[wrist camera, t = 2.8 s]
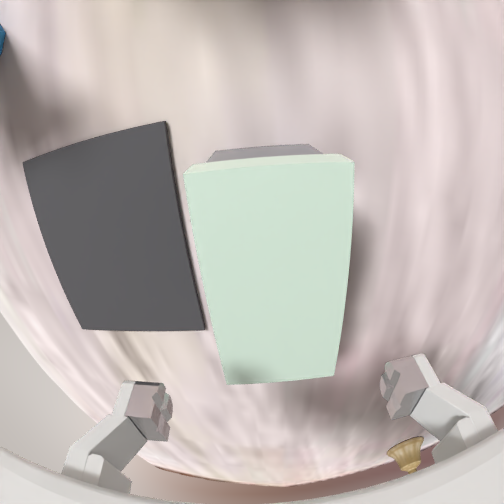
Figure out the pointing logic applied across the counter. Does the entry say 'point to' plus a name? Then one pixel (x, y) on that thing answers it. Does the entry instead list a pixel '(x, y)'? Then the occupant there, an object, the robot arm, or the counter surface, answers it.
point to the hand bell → (407, 454)
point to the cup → (1, 38)
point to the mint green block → (274, 261)
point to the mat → (117, 231)
